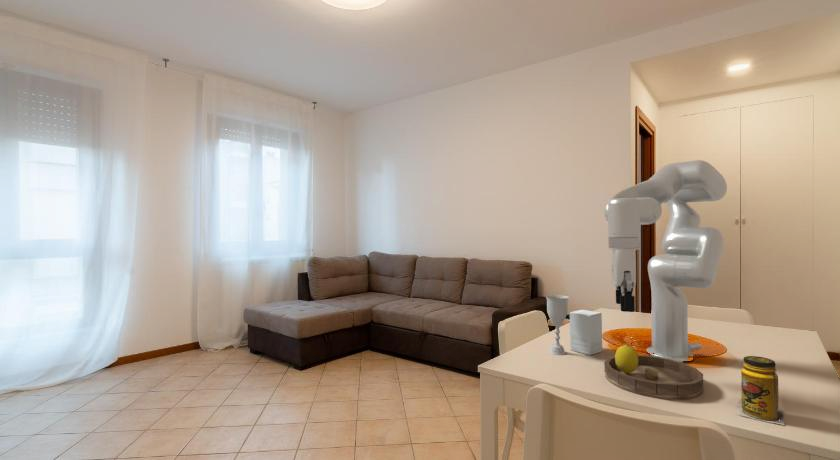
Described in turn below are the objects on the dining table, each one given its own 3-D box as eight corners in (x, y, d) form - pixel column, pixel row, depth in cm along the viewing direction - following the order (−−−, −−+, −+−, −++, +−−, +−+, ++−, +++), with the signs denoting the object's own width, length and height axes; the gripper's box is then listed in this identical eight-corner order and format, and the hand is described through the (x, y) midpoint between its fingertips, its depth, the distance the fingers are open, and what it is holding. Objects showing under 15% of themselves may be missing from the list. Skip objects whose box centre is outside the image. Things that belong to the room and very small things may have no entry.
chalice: (569, 350, 131) (568, 295, 131) (569, 356, 125) (569, 299, 125) (545, 348, 134) (545, 294, 134) (545, 354, 127) (544, 298, 127)
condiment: (738, 415, 86) (738, 359, 85) (739, 402, 92) (739, 350, 92) (784, 426, 81) (784, 367, 81) (782, 411, 87) (782, 356, 87)
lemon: (641, 378, 104) (641, 347, 104) (618, 377, 105) (618, 347, 105) (634, 371, 109) (634, 342, 109) (612, 370, 110) (612, 341, 110)
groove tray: (657, 364, 117) (657, 352, 117) (726, 395, 95) (726, 381, 95) (588, 369, 114) (588, 357, 114) (643, 402, 92) (643, 387, 92)
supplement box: (603, 351, 130) (602, 312, 130) (589, 355, 126) (589, 315, 126) (582, 346, 136) (582, 308, 136) (569, 350, 132) (568, 311, 132)
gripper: (605, 242, 117) (606, 300, 117) (612, 246, 101) (613, 314, 101) (634, 242, 114) (635, 301, 115) (646, 246, 98) (647, 315, 98)
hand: (624, 307), depth 108 cm, fingers open, 9 cm apart
